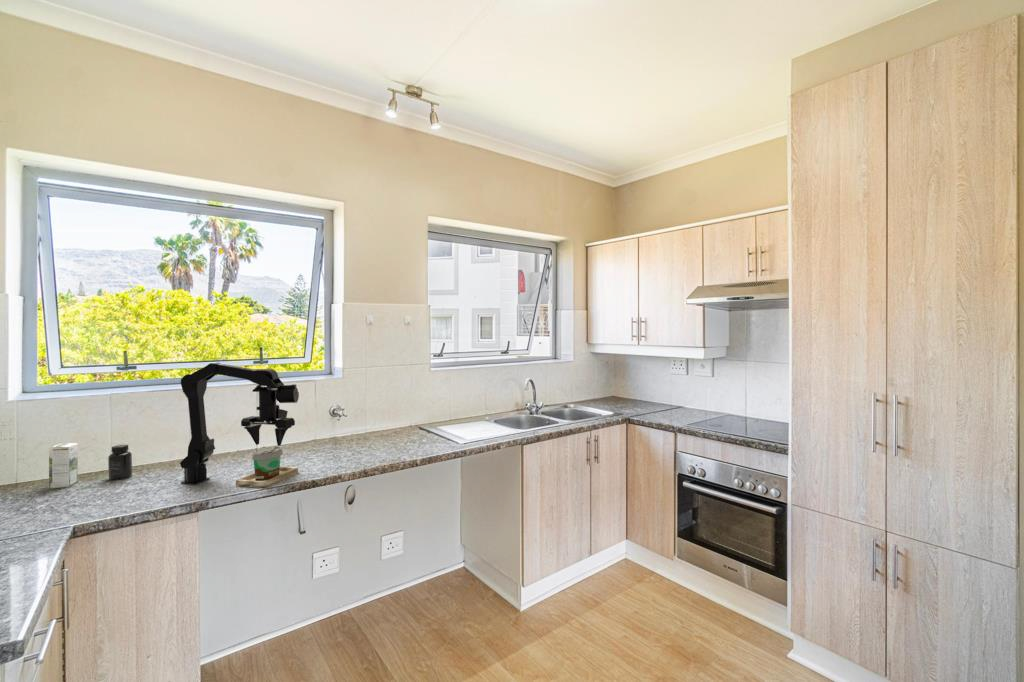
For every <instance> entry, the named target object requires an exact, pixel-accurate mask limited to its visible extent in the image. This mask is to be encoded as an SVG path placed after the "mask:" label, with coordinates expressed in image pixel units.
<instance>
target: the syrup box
mask: <svg viewBox="0 0 1024 682" xmlns="http://www.w3.org/2000/svg"><path fill="white" fill-rule="evenodd" d="M78 446H79V445H78V443H77V442H75V443H74V442H70V443H69V442H68V443H67V442H66V443H65V442H64V443H58V444H55V445H52V446H51V447H49V448H48V474H49V475H48V489H58V488H69V487H71V486H74V485H75V484H76V483H78V476H79V475H78V466H79V465H78V462H79V461H78Z"/></svg>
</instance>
